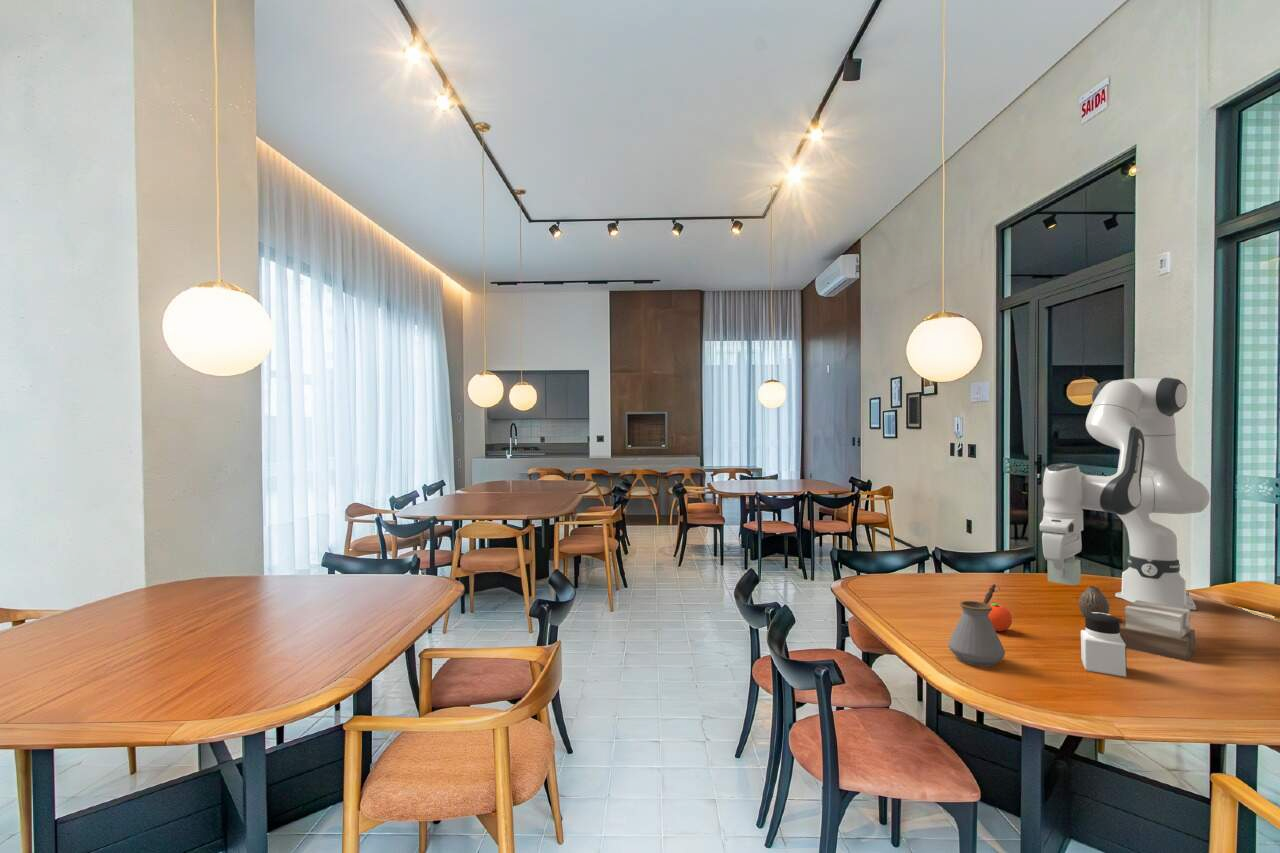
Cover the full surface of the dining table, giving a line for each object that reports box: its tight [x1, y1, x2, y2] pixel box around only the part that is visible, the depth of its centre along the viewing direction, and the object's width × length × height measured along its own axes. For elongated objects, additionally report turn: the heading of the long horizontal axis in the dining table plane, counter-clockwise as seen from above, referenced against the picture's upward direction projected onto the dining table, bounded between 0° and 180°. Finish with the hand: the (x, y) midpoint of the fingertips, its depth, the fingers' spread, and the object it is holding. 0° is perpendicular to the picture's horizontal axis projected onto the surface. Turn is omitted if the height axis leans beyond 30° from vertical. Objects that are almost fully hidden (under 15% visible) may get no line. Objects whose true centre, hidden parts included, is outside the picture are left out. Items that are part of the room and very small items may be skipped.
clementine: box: [988, 603, 1013, 632], centre depth 153 cm, size 8×7×7 cm
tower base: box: [1120, 622, 1196, 662], centre depth 140 cm, size 12×12×5 cm
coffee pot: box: [947, 583, 1006, 667], centre depth 136 cm, size 21×12×15 cm, turn 133°
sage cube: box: [1046, 558, 1082, 586], centre depth 156 cm, size 6×6×6 cm
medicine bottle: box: [1080, 612, 1128, 678], centre depth 127 cm, size 7×7×12 cm
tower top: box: [1124, 600, 1192, 639], centre depth 140 cm, size 10×10×5 cm
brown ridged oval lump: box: [1078, 585, 1110, 617], centre depth 163 cm, size 7×7×9 cm
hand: (1064, 572), depth 156 cm, fingers closed on sage cube, 6 cm apart
